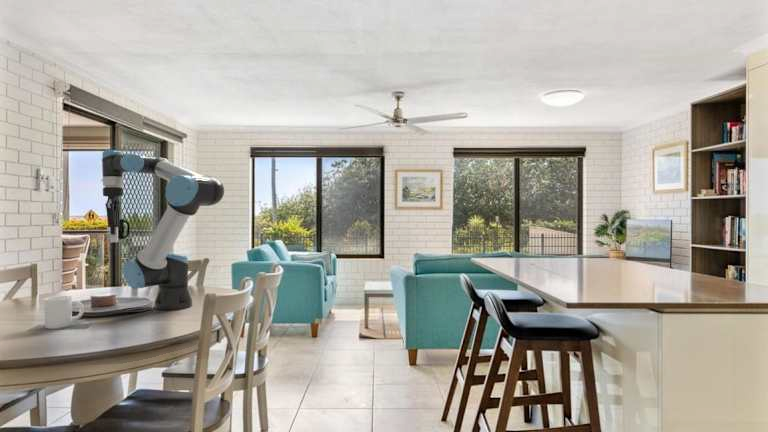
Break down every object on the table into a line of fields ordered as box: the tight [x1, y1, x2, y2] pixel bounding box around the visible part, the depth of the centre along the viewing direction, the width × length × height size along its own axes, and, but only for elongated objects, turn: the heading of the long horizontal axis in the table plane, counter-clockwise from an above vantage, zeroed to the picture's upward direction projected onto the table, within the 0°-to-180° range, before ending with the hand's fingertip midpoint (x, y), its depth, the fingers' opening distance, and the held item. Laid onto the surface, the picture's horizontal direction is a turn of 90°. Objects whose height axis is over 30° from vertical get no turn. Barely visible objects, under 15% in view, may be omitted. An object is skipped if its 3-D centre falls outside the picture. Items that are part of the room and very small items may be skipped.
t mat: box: [26, 319, 96, 332], centre depth 175 cm, size 19×14×1 cm
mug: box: [43, 295, 85, 329], centre depth 173 cm, size 12×8×10 cm
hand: (114, 242), depth 204 cm, fingers closed
